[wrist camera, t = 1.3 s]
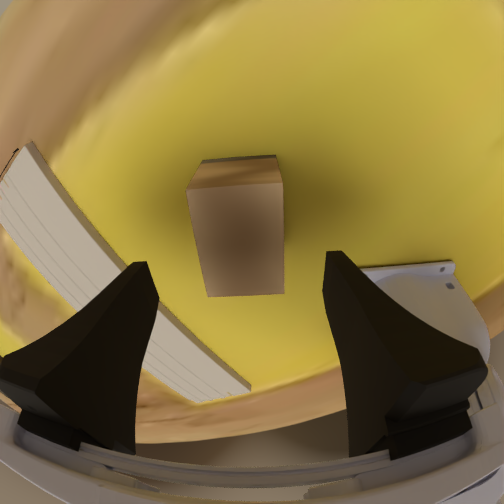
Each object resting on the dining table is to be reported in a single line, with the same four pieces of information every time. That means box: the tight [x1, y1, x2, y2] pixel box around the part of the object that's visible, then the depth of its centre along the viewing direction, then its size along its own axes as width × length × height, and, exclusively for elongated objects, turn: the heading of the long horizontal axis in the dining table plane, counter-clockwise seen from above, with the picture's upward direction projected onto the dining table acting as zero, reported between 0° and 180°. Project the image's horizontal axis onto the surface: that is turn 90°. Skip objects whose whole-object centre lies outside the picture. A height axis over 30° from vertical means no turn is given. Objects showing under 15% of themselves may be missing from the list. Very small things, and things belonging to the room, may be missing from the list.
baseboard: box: [0, 142, 251, 403], centre depth 22 cm, size 30×3×10 cm
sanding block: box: [186, 155, 284, 297], centre depth 15 cm, size 4×6×4 cm, turn 4°
